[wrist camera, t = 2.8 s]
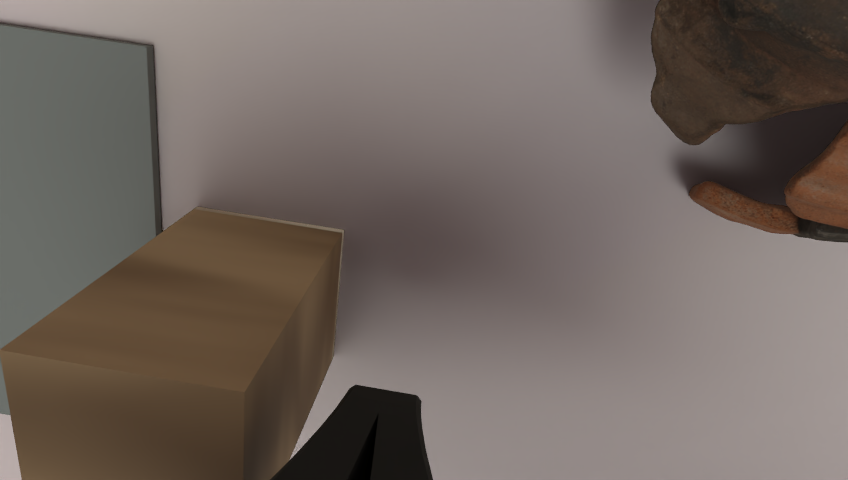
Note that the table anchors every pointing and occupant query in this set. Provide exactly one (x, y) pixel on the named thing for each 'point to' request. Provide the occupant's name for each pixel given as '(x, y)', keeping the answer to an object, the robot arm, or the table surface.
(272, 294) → the walnut block
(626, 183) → the table surface
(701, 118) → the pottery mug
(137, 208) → the rubber mat
